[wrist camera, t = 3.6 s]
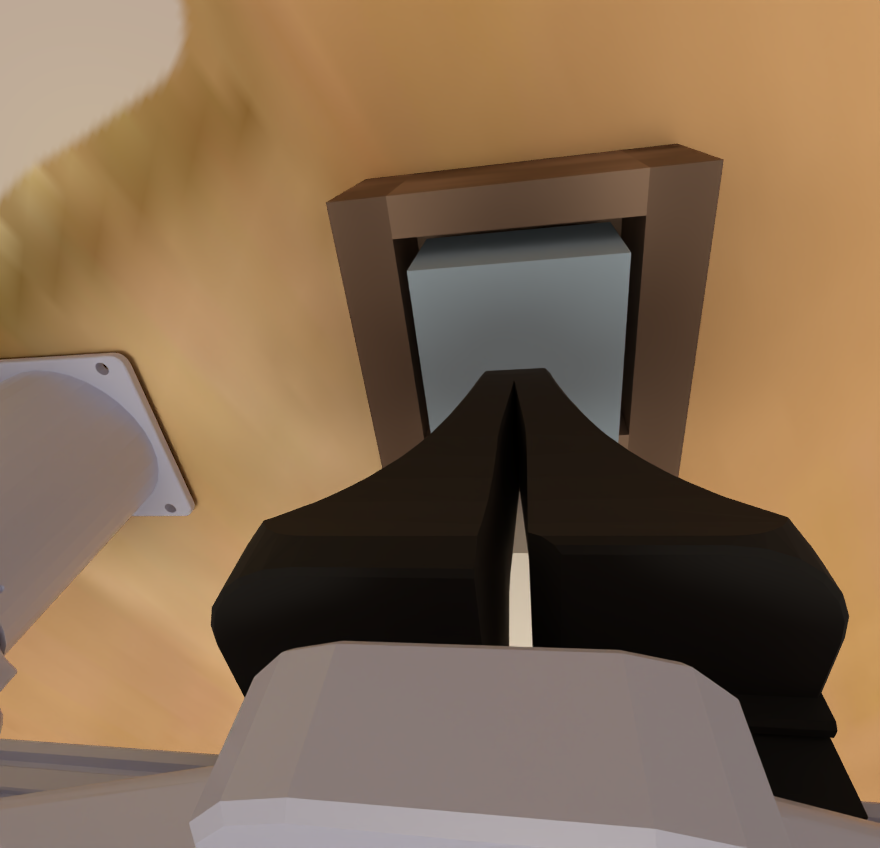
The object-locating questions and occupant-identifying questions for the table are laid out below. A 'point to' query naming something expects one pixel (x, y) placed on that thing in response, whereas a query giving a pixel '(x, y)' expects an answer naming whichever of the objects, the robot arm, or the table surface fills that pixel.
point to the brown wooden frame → (532, 207)
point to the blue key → (524, 314)
